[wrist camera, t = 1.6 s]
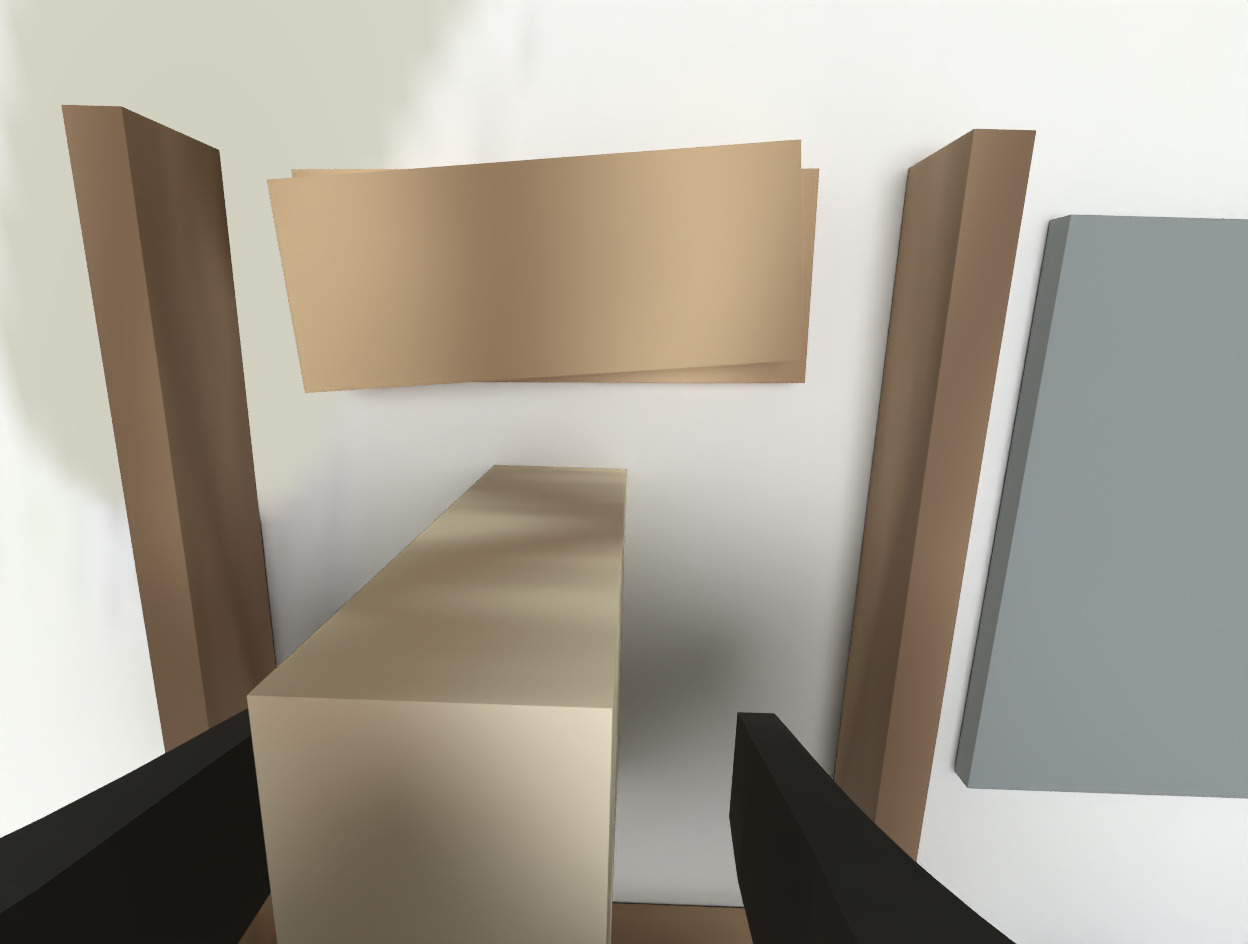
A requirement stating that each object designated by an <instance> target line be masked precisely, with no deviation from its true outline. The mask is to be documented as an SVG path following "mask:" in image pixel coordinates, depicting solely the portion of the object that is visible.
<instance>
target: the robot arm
mask: <svg viewBox="0 0 1248 944" xmlns="http://www.w3.org/2000/svg"><path fill="white" fill-rule="evenodd" d="M729 818H730V826H731V834H732V841H733V849H734V856H735V863H736V870H737V877H738V883H739V887H740V892H741V896H742V900H743V904H744V908H745V912H746V917H747V921H748V925H749V929H750V933H751V937H752V941H753V944H1016V943H1014V942H1013V941H1012V940H1010V939H1009V938H1008V937H1006V936H1005V935H1004V934H1003V933H1001V932H1000V931H999V930H997V929H996V928H995V927H994V926H992V925H991V924H990V923H988V922H987V921H986V920H985V919H983V918H982V917H981V916H979V915H978V914H977V913H976V912H975V911H973V910H972V909H971V908H970V907H969V906H967V905H966V904H965V903H964V902H963V901H961V900H960V899H959V898H958V897H957V896H955V895H954V894H953V893H952V892H950V891H949V890H948V889H947V888H946V887H944V886H943V885H942V884H941V883H940V882H938V881H937V880H936V879H935V878H934V877H932V876H931V875H930V874H929V873H928V872H927V871H926V870H925V869H923V868H922V867H921V866H920V865H919V864H918V863H917V862H916V861H914V860H913V859H912V858H911V857H910V856H909V855H908V854H907V853H906V852H905V851H904V850H903V849H901V848H900V847H899V846H898V845H897V844H896V843H895V842H894V841H893V840H892V839H891V838H890V837H889V836H888V835H887V834H886V833H885V832H884V831H882V830H881V829H880V828H879V827H878V826H877V825H876V824H875V823H874V822H873V821H872V820H871V819H870V818H869V817H868V816H867V815H866V814H865V813H864V812H863V811H862V810H861V809H860V808H859V807H858V806H857V805H856V804H855V803H854V801H853V800H852V799H851V798H850V797H849V796H848V795H847V794H846V793H845V792H844V791H843V790H842V789H841V788H840V787H839V786H838V785H837V784H836V783H835V781H834V780H833V779H832V778H831V777H830V776H829V775H828V774H827V773H826V772H825V770H824V769H823V768H822V767H821V766H820V765H819V764H818V763H817V761H816V760H815V759H814V758H813V757H812V756H811V755H810V754H809V752H808V751H807V750H806V749H805V748H804V747H803V746H802V744H801V743H800V742H799V741H798V740H797V739H796V738H795V736H794V735H793V734H792V733H791V732H790V731H789V729H788V728H787V727H786V726H785V725H784V724H783V723H782V722H781V720H780V719H779V718H778V717H777V716H776V715H775V714H774V713H744V712H738V714H737V726H736V739H735V751H734V764H733V776H732V788H731V801H730V813H729ZM270 893H271V888H270V880H269V872H268V864H267V856H266V848H265V840H264V832H263V824H262V815H261V807H260V799H259V791H258V783H257V775H256V767H255V759H254V750H253V742H252V734H251V726H250V718H249V710H248V708H247V709H245V710H243V711H242V712H240V713H238V714H236V715H234V716H232V717H230V718H228V719H227V720H225V721H223V722H221V723H219V724H217V725H216V726H214V727H212V728H210V729H208V730H207V731H205V732H203V733H201V734H199V735H198V736H196V737H194V738H192V739H190V740H188V741H187V742H185V743H183V744H181V745H179V746H178V747H176V748H174V749H172V750H170V751H168V752H167V753H165V754H163V755H161V756H159V757H158V758H156V759H154V760H152V761H150V762H148V763H147V764H145V765H143V766H141V767H139V768H138V769H136V770H134V771H132V772H130V773H128V774H126V775H125V776H123V777H121V778H119V779H117V780H115V781H113V782H111V783H109V784H107V785H105V786H103V787H101V788H99V789H97V790H95V791H94V792H92V793H90V794H88V795H86V796H84V797H82V798H80V799H78V800H76V801H74V802H72V803H70V804H68V805H66V806H65V807H63V808H61V809H59V810H57V811H55V812H53V813H51V814H49V815H47V816H45V817H43V818H41V819H39V820H37V821H35V822H33V823H31V824H29V825H27V826H25V827H23V828H21V829H19V830H16V831H14V832H12V833H10V834H8V835H6V836H4V837H2V838H0V944H238V943H239V941H240V940H241V938H242V937H243V935H244V934H245V932H246V931H247V929H248V928H249V926H250V924H251V923H252V921H253V920H254V918H255V917H256V915H257V913H258V912H259V910H260V909H261V907H262V906H263V904H264V902H265V901H266V899H267V898H268V896H269V895H270Z"/></svg>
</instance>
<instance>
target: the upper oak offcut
mask: <svg viewBox="0 0 1248 944" xmlns="http://www.w3.org/2000/svg"><path fill="white" fill-rule="evenodd" d="M267 184H268V189H269V195H270V200H271V206H272V212H273V217H274V223H275V228H276V233H277V239H278V245H279V250H280V256H281V261H282V267H283V272H284V278H285V284H286V289H287V295H288V301H289V306H290V312H291V317H292V323H293V328H294V334H295V339H296V345H297V351H298V356H299V361H300V367H301V373H302V378H303V384H304V389H305V393H310V392H326V391H341V390H356V389H371V388H386V387H401V386H416V385H432V384H447V383H462V382H477V381H492V380H507V379H523V378H538V377H553V376H568V375H583V374H598V373H614V372H629V371H644V370H659V369H674V368H689V367H705V366H720V365H735V364H750V363H765V362H780V361H796V360H801V140H788V141H775V142H762V143H748V144H735V145H722V146H709V147H695V148H682V149H669V150H656V151H642V152H629V153H616V154H602V155H589V156H576V157H563V158H549V159H536V160H523V161H510V162H496V163H483V164H470V165H457V166H443V167H430V168H417V169H403V170H390V171H377V172H364V173H350V174H337V175H324V176H311V177H297V178H285V179H272V180H267Z"/></svg>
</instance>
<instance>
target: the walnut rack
mask: <svg viewBox="0 0 1248 944" xmlns="http://www.w3.org/2000/svg"><path fill="white" fill-rule="evenodd" d="M62 111H63V117H64V124H65V130H66V136H67V143H68V149H69V155H70V161H71V167H72V174H73V180H74V186H75V192H76V199H77V205H78V211H79V217H80V224H81V230H82V236H83V242H84V249H85V254H86V261H87V267H88V273H89V280H90V286H91V292H92V298H93V305H94V310H95V316H96V323H97V329H98V336H99V342H100V348H101V355H102V361H103V367H104V373H105V380H106V386H107V392H108V398H109V404H110V411H111V417H112V423H113V429H114V435H115V442H116V448H117V454H118V461H119V467H120V473H121V479H122V486H123V492H124V498H125V504H126V510H127V517H128V523H129V529H130V535H131V542H132V548H133V554H134V560H135V567H136V573H137V579H138V585H139V592H140V598H141V604H142V610H143V617H144V623H145V629H146V635H147V641H148V648H149V654H150V660H151V666H152V673H153V679H154V685H155V691H156V698H157V704H158V710H159V716H160V723H161V729H162V735H163V741H164V748H165V753H167V752H168V751H170V750H172V749H174V748H176V747H178V746H179V745H181V744H183V743H185V742H187V741H188V740H190V739H192V738H194V737H196V736H198V735H199V734H201V733H203V732H205V731H207V730H208V729H210V728H212V727H214V726H216V725H217V724H219V723H221V722H223V721H225V720H227V719H228V718H230V717H232V716H234V715H236V714H238V713H240V712H242V711H243V710H245V709H247V708H248V702H247V695H248V694H249V693H250V692H251V691H252V690H253V689H254V688H255V687H256V686H257V685H258V684H260V683H261V682H262V681H263V680H264V679H265V678H266V677H267V676H268V675H269V674H270V673H271V672H272V671H274V670H275V669H276V664H275V655H274V645H273V636H272V627H271V618H270V609H269V600H268V591H267V582H266V573H265V563H264V554H263V545H262V536H261V527H260V518H259V509H258V500H257V491H256V481H255V472H254V463H253V454H252V445H251V436H250V427H249V418H248V409H247V399H246V391H245V381H244V372H243V363H242V355H241V345H240V337H239V327H238V317H237V308H236V299H235V290H234V282H233V273H232V263H231V254H230V244H229V235H228V226H227V217H226V208H225V199H224V190H223V181H222V172H221V162H220V153H219V150H218V149H216V148H213V147H211V146H208V145H207V144H204V143H202V142H200V141H198V140H195V139H193V138H191V137H189V136H186V135H184V134H182V133H179V132H177V131H175V130H173V129H171V128H168V127H166V126H164V125H162V124H159V123H157V122H155V121H153V120H150V119H148V118H146V117H143V116H141V115H139V114H137V113H135V112H132V111H130V110H128V109H126V108H124V107H118V106H117V107H116V106H79V105H62ZM1035 135H1036V130H998V129H973V130H972V131H970V132H968V133H967V134H965V135H963V136H962V137H960V138H958V139H957V140H955V141H954V142H952V143H950V144H949V145H947V146H945V147H944V148H942V149H940V150H939V151H937V152H935V153H934V154H932V155H930V156H929V157H927V158H926V159H924V160H922V161H921V162H919V163H917V164H916V165H914V166H912V167H911V168H909V171H908V180H907V188H906V196H905V204H904V212H903V220H902V228H901V236H900V245H899V253H898V261H897V269H896V277H895V285H894V293H893V301H892V310H891V318H890V326H889V334H888V342H887V350H886V358H885V366H884V375H883V383H882V391H881V399H880V407H879V415H878V423H877V431H876V440H875V448H874V456H873V464H872V472H871V480H870V488H869V496H868V505H867V513H866V521H865V529H864V537H863V545H862V553H861V561H860V570H859V578H858V586H857V594H856V602H855V610H854V618H853V626H852V635H851V643H850V651H849V659H848V667H847V675H846V683H845V691H844V700H843V708H842V716H841V724H840V732H839V740H838V748H837V756H836V765H835V773H834V781H835V783H836V784H837V785H838V786H839V787H840V788H841V789H842V790H843V791H844V792H845V793H846V794H847V795H848V796H849V797H850V798H851V799H852V800H853V801H854V803H855V804H856V805H857V806H858V807H859V808H860V809H861V810H862V811H863V812H864V813H865V814H866V815H867V816H868V817H869V818H870V819H871V820H872V821H873V822H874V823H875V824H876V825H877V826H878V827H879V828H880V829H881V830H882V831H884V832H885V833H886V834H887V835H888V836H889V837H890V838H891V839H892V840H893V841H894V842H895V843H896V844H897V845H898V846H899V847H900V848H901V849H903V850H904V851H905V852H906V853H907V854H908V855H909V856H910V857H911V858H912V859H913V860H914V861H916V860H917V854H918V848H919V842H920V835H921V829H922V823H923V817H924V811H925V805H926V799H927V793H928V787H929V781H930V774H931V768H932V762H933V756H934V750H935V744H936V738H937V732H938V726H939V720H940V714H941V707H942V701H943V695H944V689H945V683H946V677H947V671H948V665H949V659H950V653H951V646H952V640H953V634H954V628H955V622H956V616H957V610H958V604H959V598H960V592H961V586H962V579H963V573H964V567H965V561H966V555H967V549H968V543H969V537H970V531H971V525H972V518H973V512H974V506H975V500H976V494H977V488H978V482H979V476H980V470H981V464H982V458H983V451H984V445H985V439H986V433H987V427H988V421H989V415H990V409H991V403H992V397H993V391H994V384H995V378H996V372H997V366H998V360H999V354H1000V348H1001V342H1002V336H1003V330H1004V323H1005V317H1006V311H1007V305H1008V299H1009V293H1010V287H1011V281H1012V275H1013V269H1014V263H1015V256H1016V250H1017V244H1018V238H1019V232H1020V226H1021V220H1022V214H1023V208H1024V202H1025V195H1026V189H1027V183H1028V177H1029V171H1030V165H1031V159H1032V153H1033V147H1034V141H1035ZM238 944H277V937H276V929H275V921H274V913H273V905H272V897H271V893H270V895H269V896H268V898H267V899H266V901H265V902H264V904H263V906H262V907H261V909H260V910H259V912H258V913H257V915H256V917H255V918H254V920H253V921H252V923H251V924H250V926H249V928H248V929H247V931H246V932H245V934H244V935H243V937H242V938H241V940H240V941H239V943H238ZM611 944H753V941H752V937H751V933H750V929H749V925H748V921H747V917H746V912H745V908H725V907H699V906H674V905H648V904H622V903H612V920H611Z"/></svg>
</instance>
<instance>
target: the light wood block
mask: <svg viewBox="0 0 1248 944" xmlns="http://www.w3.org/2000/svg"><path fill="white" fill-rule="evenodd" d="M626 472H627V469H603V468H572V467H541V466H509V465H494V466H493V467H492V468H491V469H490V470H489V471H488V472H487V473H486V474H484V475H483V476H482V477H481V478H480V479H479V480H478V481H477V482H476V483H475V484H474V485H473V486H472V487H470V488H469V489H468V490H467V491H466V492H465V493H464V494H463V495H462V496H461V497H460V498H459V499H458V500H456V501H455V502H454V503H453V504H452V505H451V506H450V507H449V508H448V509H447V510H446V511H445V512H444V513H442V514H441V515H440V516H439V517H438V518H437V519H436V520H435V521H434V522H433V523H432V524H431V525H430V526H428V527H427V528H426V529H425V530H424V531H423V532H422V533H421V534H420V535H419V536H418V537H417V538H416V539H415V540H413V541H412V542H411V543H410V544H409V545H408V546H407V547H406V548H405V549H404V550H403V551H402V552H401V553H399V554H398V555H397V556H396V557H395V558H394V559H393V560H392V561H391V562H390V563H389V564H388V565H387V566H385V567H384V568H383V569H382V570H381V571H380V572H379V573H378V574H377V575H376V576H375V577H374V578H373V579H371V580H370V581H369V582H368V583H367V584H366V585H365V586H364V587H363V588H362V589H361V590H360V591H359V592H357V593H356V594H355V595H354V596H353V597H352V598H351V599H350V600H349V601H348V602H347V603H346V604H345V605H343V606H342V607H341V608H340V609H339V610H338V611H337V612H336V613H335V614H334V615H333V616H332V617H331V618H329V619H328V620H327V621H326V622H325V623H324V624H323V625H322V626H321V627H320V628H319V629H318V630H317V631H316V632H314V633H313V634H312V635H311V636H310V637H309V638H308V639H307V640H306V641H305V642H304V643H303V644H302V645H300V646H299V647H298V648H297V649H296V650H295V651H294V652H293V653H292V654H291V655H290V656H289V657H288V658H286V659H285V660H284V661H283V662H282V663H281V664H280V665H279V666H278V667H277V668H276V669H275V670H274V671H272V672H271V673H270V674H269V675H268V676H267V677H266V678H265V679H264V680H263V681H262V682H261V683H260V684H258V685H257V686H256V687H255V688H254V689H253V690H252V691H251V692H250V693H249V694H248V695H247V702H248V710H249V718H250V726H251V734H252V742H253V750H254V759H255V767H256V775H257V783H258V791H259V799H260V807H261V815H262V824H263V832H264V840H265V848H266V856H267V864H268V872H269V880H270V888H271V897H272V905H273V913H274V921H275V929H276V937H277V944H611V920H612V894H613V869H614V844H615V818H616V793H617V766H618V733H619V700H620V668H621V635H622V603H623V570H624V537H625V505H626Z"/></svg>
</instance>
